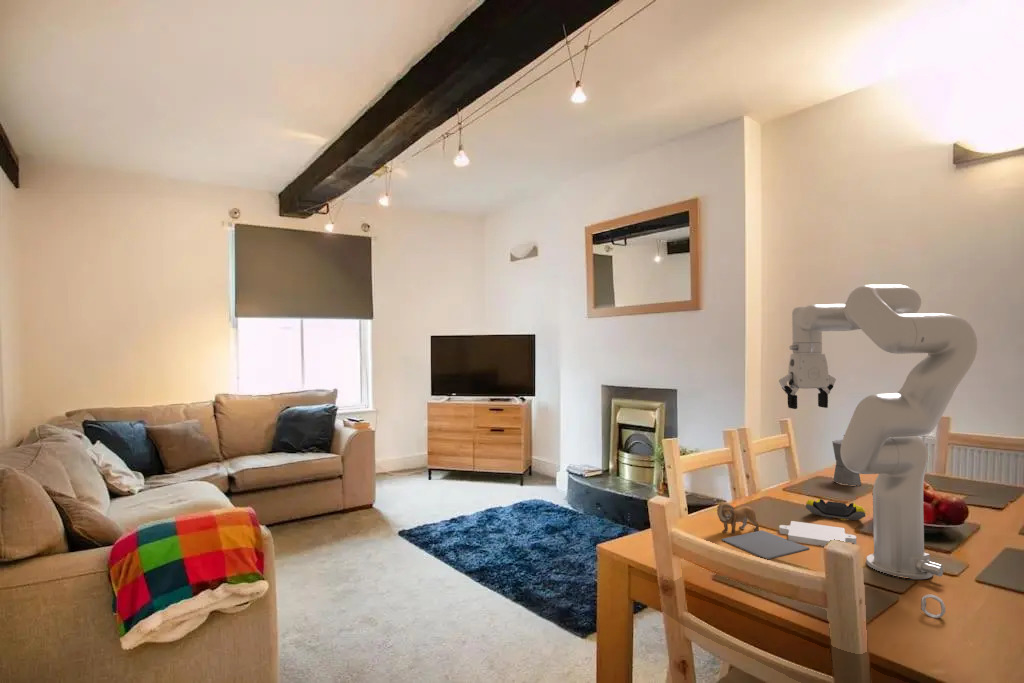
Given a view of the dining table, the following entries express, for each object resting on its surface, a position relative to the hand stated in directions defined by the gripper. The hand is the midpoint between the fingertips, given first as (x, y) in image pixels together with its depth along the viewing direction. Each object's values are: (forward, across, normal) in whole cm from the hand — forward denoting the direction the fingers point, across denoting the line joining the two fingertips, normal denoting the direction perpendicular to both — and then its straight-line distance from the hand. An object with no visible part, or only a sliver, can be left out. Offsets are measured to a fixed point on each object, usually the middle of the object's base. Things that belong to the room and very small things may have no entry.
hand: (807, 407), depth 158 cm
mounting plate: (+34, -6, -11) cm, 36 cm away
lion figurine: (+34, -25, -4) cm, 42 cm away
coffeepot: (+34, +42, +34) cm, 64 cm away
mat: (+33, -23, -14) cm, 43 cm away
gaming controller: (+34, +10, +2) cm, 35 cm away
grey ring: (+33, -14, -53) cm, 64 cm away
